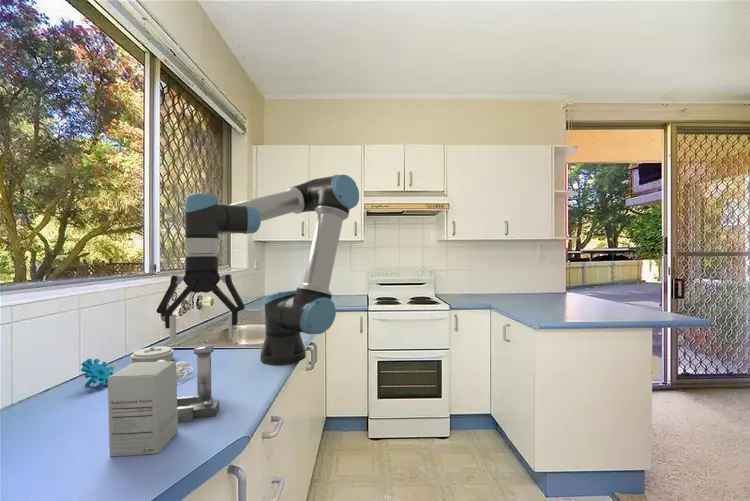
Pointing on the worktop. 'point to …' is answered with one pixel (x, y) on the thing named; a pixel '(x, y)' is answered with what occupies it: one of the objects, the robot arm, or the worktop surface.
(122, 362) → the worktop surface
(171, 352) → the lid
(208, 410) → the bolted rod clamp
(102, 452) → the worktop surface
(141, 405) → the supplement box
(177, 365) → the tangled rod sculpture
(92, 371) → the gear
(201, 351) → the pin
